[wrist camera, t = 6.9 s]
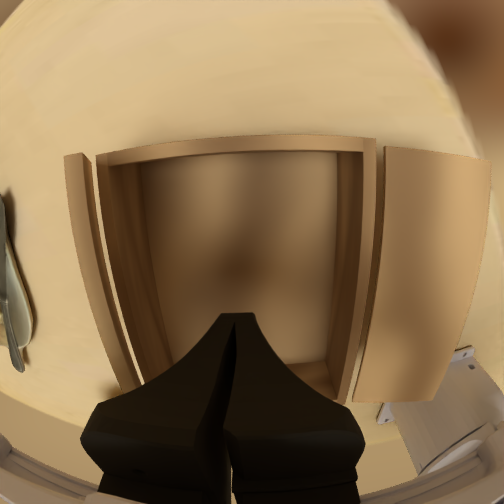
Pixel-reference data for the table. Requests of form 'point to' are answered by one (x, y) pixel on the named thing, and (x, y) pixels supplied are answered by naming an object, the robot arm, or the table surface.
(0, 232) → the avocado toast plate
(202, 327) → the carton
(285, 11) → the table surface
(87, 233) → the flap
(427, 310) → the panel
